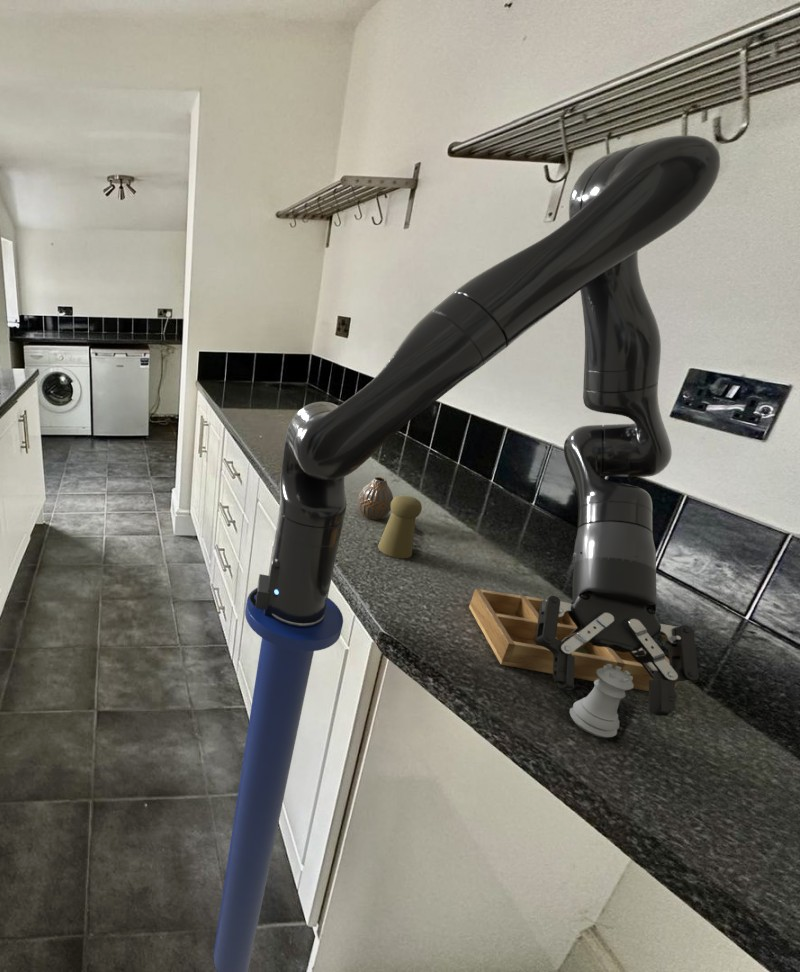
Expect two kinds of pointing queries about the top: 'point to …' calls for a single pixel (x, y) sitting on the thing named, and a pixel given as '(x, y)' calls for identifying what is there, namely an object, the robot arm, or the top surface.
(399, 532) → the cork
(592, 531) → the robot arm
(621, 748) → the top surface
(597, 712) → the rook chess piece
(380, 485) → the vase
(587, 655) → the grid
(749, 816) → the top surface
